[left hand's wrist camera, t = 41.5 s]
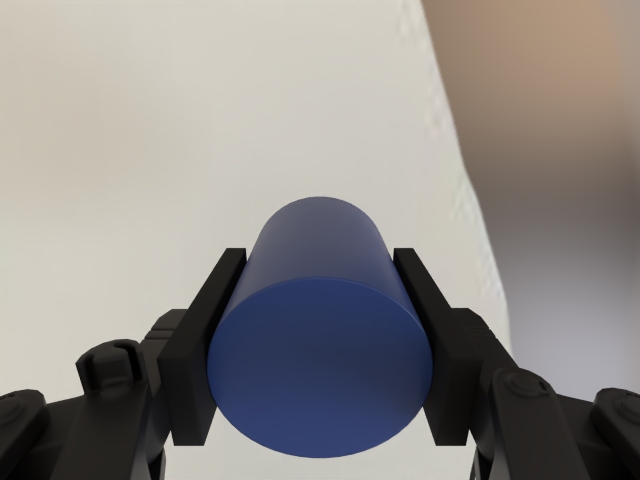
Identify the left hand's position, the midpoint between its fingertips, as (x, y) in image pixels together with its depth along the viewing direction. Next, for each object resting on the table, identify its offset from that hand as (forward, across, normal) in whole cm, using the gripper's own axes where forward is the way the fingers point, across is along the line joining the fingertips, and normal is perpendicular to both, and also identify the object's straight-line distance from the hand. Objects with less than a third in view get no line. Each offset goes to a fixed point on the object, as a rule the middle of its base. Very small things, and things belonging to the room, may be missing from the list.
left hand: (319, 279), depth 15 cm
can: (+2, 0, 0) cm, 2 cm away
